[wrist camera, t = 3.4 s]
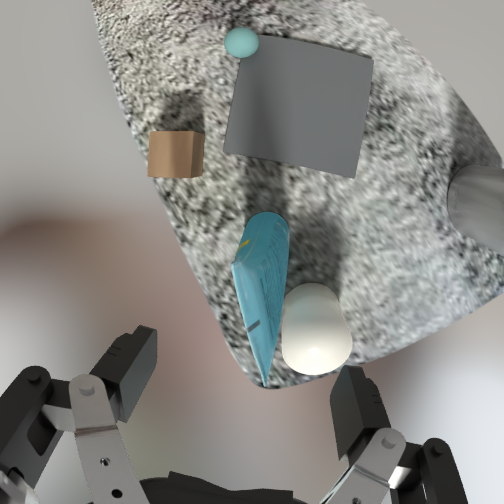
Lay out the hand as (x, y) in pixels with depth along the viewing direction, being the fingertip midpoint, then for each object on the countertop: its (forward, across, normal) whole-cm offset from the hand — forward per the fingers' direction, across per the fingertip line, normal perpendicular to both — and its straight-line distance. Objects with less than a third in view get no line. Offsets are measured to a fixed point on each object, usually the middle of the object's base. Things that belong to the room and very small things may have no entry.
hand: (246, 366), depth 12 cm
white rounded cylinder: (+22, -7, +8) cm, 24 cm away
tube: (+22, 0, 0) cm, 22 cm away
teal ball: (+21, +6, -20) cm, 30 cm away
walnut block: (+20, +8, -7) cm, 23 cm away
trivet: (+22, -1, -15) cm, 26 cm away
